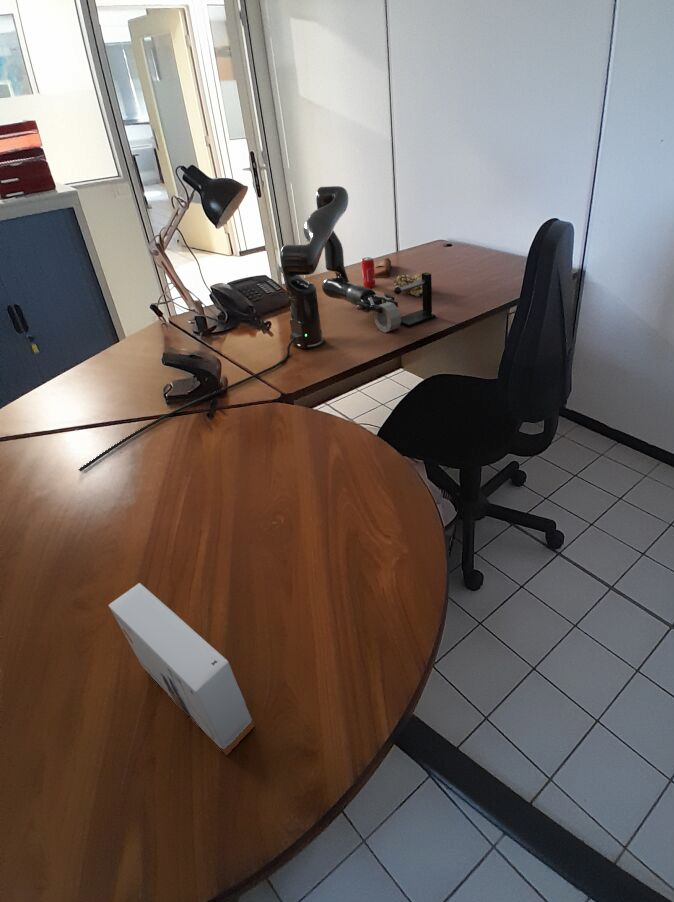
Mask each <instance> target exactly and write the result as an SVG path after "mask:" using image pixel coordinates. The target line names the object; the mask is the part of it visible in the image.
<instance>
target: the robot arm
mask: <svg viewBox="0 0 674 902" xmlns="http://www.w3.org/2000/svg"><path fill="white" fill-rule="evenodd" d="M315 195H316V196H315V198H316V199H315V201H316V207H317V209H315V210H314V211H313V212H311V213H310V214H309V216H308V217H307V219H306V221H305V222H304V224H303V227H302V228H303V229H302V231H303V236H304V238H305V241H306V242H307V243H306V244H285V245H283V246H282V247H281V250H280V253H279V254H280V255H279V256H280V257H279V259H280V265H281V272H282V277H283V281H284V286H285V289H286V292H287V297H288V302H289V310H290V316H291V318H289V325H290V326H289V327H290V332H291V333H289V339H290V342H289V343H288V344H287V347H286V355H285V357H284V358H283V359H281V360H280V361H278V362H277V363H275V364H273V365H272V366H270V367H267V368H264V369H263V370H261V371H259V372H256V373H255V374H252V375H250V376H248V377H245V378H243V379H241V380H239V381H237V382H234V383H232V384H230V385H227V386H225V387H226V388H225V387H223V388H221V390H220V389H218V390H219V391H218V390H216V391H217V392H216V391H214V392H212V394H211V393H209V394H210V395H209V394H206V395H204V396H202V397H199V398H198V399H196V400H193V401H191V402H189V403H186V404H184V405H182V406H181V407H179V408H176V409H174V410H173V411H171V413H170V412H168V413H166V414H167V415H166V414H164V415H165V416H164V415H162V416H160V417H159V418H157V419H155V420H156V421H155V420H153V421H154V422H153V421H151V422H152V423H151V422H149V423H147V424H146V425H147V426H146V425H144V426H145V427H144V426H143V428H142V427H141V428H139V429H140V430H139V429H137V430H138V431H137V430H135V431H134V432H135V433H134V432H132V433H133V434H132V433H131V434H129V435H130V436H129V435H127V436H128V437H127V436H126V437H124V438H125V439H124V438H122V439H121V440H122V441H121V440H119V441H120V442H119V441H118V442H119V443H118V442H116V443H117V444H116V443H115V444H113V445H114V446H113V445H112V446H110V447H111V448H110V447H109V448H107V449H108V450H107V449H106V450H104V451H105V452H104V451H102V452H101V453H102V454H101V453H100V454H98V455H99V456H98V455H96V456H95V457H96V458H95V457H94V458H95V459H94V458H92V459H93V460H92V459H91V460H92V461H91V460H89V461H88V462H89V463H88V462H86V463H85V464H86V465H85V464H83V465H82V466H83V467H82V466H81V467H79V468H80V469H79V468H78V471H79V472H83V471H84V470H85V469H87V468H88V467H90V466H91V465H93V464H94V463H96V462H97V461H98V460H100V459H101V458H103V457H104V456H106V455H107V454H109V453H110V452H112V451H113V450H115V449H116V448H118V447H120V446H121V445H122V444H124V443H125V442H127V441H128V440H130V439H132V438H133V437H135V436H136V435H139V434H140V433H142V432H144V431H145V430H147V429H148V428H150V427H152V426H154V425H156V424H157V423H159V422H161V421H163V420H165V419H168V418H169V417H171V416H173V415H175V414H177V413H179V412H181V411H183V410H185V409H187V408H190V407H192V406H194V405H195V404H198V403H201V402H202V401H206V400H207V399H209V398H211V397H213V396H216V395H218V394H220V393H223V392H225V391H228V390H230V389H232V388H234V387H237V386H239V385H242V384H243V383H245V382H247V381H250V380H253V379H254V378H256V377H258V376H260V375H263V374H265V373H268V372H270V371H272V370H274V369H276V368H277V367H279V366H280V365H282V364H283V363H285V362H286V361H287V360H288V358H289V356H290V352H291V350H290V349H291V346H292V345H293V346H294V347H297V348H300V349H303V350H307V349H312V348H317V347H319V346H321V345H322V344H324V339H323V332H322V324H321V318H320V310H319V309H320V308H319V302H318V301H319V300H318V294H317V287H316V285H315V284H314V283H313V282H311V281H308V280H306V279H304V278H302V277H301V276H309V275H312V274H314V273H315V271H316V270H317V268H318V265H319V263H320V259H321V257H322V253H323V252H324V261H325V264H324V265H325V269H326V271H328V272H333V273H334V274H335V276H336V277H327V278H325V279H324V280H323V282H322V285H321V288H322V292H323V294H325V296H327V297H329V298H331V299H337V300H343V301H345V302H348V303H349V304H351V305H353V306H356V310H358V311H361V312H365V313H370V312H373V313H374V311H375V312H378V313H383V310H382V307H381V306H378V305H380V304H384V303H387V302H391V303H394V304H395V305H396V307H397V308H398V309H399V303H398V301H396V300H395V298H396V297H395V296H393V295H391V294H390V293H388V292H384V294H383V295H380V294H377V293H376V292H375V290H373V289H372V288H366V287H364V285H361V284H356V283H353V282H350V280H349V277H348V274H347V271H346V267H345V261H344V259H345V258H344V247H343V244H342V242H341V240H340V238H339V237H338V236H337V235H338V234H336V232H335V230H334V229H335V226H336V225H337V223H338V222H339V220H340V219H341V217H342V216H343V215H344V214H345V212H346V210H347V208H348V206H349V193H348V191H347V189H346V188H345V187H343V186H339V185H332V186H331V185H330V186H320V187H318V188H317V190H316V194H315Z"/></svg>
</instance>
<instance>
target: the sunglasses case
mask: <svg viewBox="0 0 674 902" xmlns="http://www.w3.org/2000/svg"><path fill="white" fill-rule="evenodd" d="M391 266H392V260H391V259H390V258H388V257H387V258H384V259H382V260H380V261H379V262H378V263H376V264H374V272H375V278H388V277H389V275H390V271H391Z"/></svg>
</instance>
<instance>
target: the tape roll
mask: <svg viewBox="0 0 674 902" xmlns="http://www.w3.org/2000/svg"><path fill="white" fill-rule="evenodd" d="M386 302H387V301H386ZM378 306H381V307H382V310H383V313H378V312H375V311H374V312H373V319H374V322H375V324H376V327H377V328H378V329H379V331H381V332H383V333H385V334H386V333H389V332H391V331H394V330H396V329H398V328H400V326H401V317H402V316H401V315H402V314H401V312H400V310H399V307H398V308H397V307H396V305H395V304H394V303H391V302H387V303H384V304H383V303H382V304H380V305H378Z"/></svg>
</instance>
